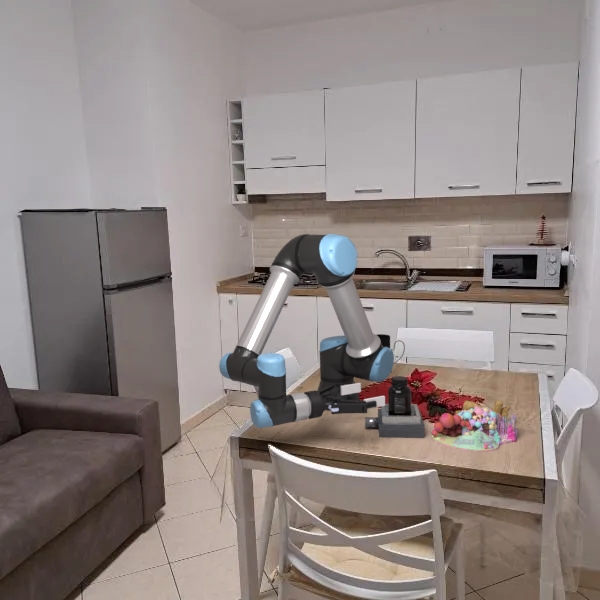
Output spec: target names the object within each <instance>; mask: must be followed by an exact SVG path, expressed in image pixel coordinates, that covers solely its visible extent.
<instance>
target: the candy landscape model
mask: <svg viewBox="0 0 600 600" xmlns="http://www.w3.org/2000/svg"><path fill="white" fill-rule="evenodd" d="M510 409H511V407H510V406H504V403H503V401H501V400H496V401H494V406H493V409H491V408H487V407H485V406H484V405H480V404H477V403H476V402H475V401H471V400H465V401H464V402H463V406H462V410H455V412H454V415H452V414H451V413H449V412H444V413H442V414H441V416H440V417H439V419H438V420H436V422H435V423H434V424H433V429H432V430H431V431H430V432H431V435H430V438H431V439H432V441H433V442H435V443H437V444H438V445H442V446H444V447H448V448H451V449H455V450H459V451H460V450H461V451H464V452H475V453H483V452H494V451H497V450H498V449H500V448H499V446H500V445H507V444H508V443H509V444H510V443H513V442H516V441H517V437H518V428H517V427H516V420H517V415H516V414H514V413H511V419H510V420H507V418H508V416H509V412H510Z"/></svg>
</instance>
